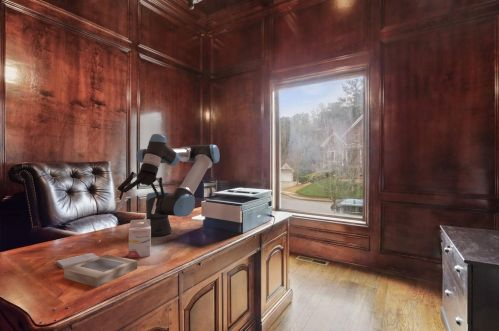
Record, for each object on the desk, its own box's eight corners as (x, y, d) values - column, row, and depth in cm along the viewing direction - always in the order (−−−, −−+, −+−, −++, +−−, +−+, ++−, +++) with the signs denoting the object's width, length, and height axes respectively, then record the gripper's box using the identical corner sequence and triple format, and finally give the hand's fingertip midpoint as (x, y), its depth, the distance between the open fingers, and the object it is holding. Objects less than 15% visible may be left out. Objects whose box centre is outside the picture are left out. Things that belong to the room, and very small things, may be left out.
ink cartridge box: (128, 258, 108) (128, 222, 108) (129, 254, 113) (129, 220, 112) (150, 256, 111) (150, 221, 110) (150, 252, 115) (150, 218, 115)
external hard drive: (56, 264, 102) (91, 255, 112) (62, 270, 97) (99, 260, 107) (55, 260, 102) (91, 252, 112) (62, 265, 97) (99, 256, 107)
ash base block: (106, 262, 104) (106, 254, 104) (137, 268, 98) (137, 260, 98) (64, 278, 89) (64, 269, 89) (97, 287, 83) (97, 277, 83)
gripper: (120, 156, 117) (103, 203, 109) (177, 168, 120) (164, 214, 112) (124, 162, 124) (109, 207, 116) (178, 173, 127) (166, 217, 119)
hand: (136, 210), depth 114 cm, fingers open, 13 cm apart
